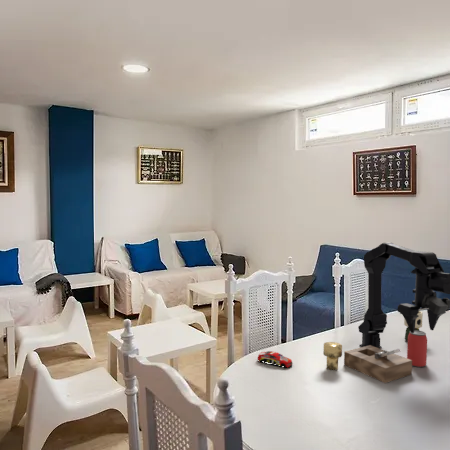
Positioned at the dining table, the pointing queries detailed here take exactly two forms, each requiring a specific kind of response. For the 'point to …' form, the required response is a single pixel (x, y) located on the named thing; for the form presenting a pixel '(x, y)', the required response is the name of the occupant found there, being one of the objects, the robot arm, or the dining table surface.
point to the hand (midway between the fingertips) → (422, 331)
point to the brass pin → (332, 354)
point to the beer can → (417, 348)
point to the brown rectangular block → (378, 363)
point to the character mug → (417, 324)
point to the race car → (275, 358)
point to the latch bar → (388, 353)
